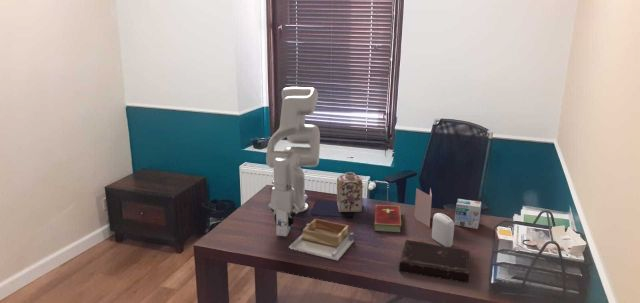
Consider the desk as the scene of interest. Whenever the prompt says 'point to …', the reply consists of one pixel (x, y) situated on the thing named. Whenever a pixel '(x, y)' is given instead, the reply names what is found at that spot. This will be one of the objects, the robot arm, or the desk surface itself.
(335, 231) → the crate
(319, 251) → the grey flat slab
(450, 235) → the photo printer
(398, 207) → the hardcover book
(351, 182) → the decorative jar
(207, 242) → the desk surface
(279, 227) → the ink box
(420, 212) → the greeting card
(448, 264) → the diary
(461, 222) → the light bulb box
